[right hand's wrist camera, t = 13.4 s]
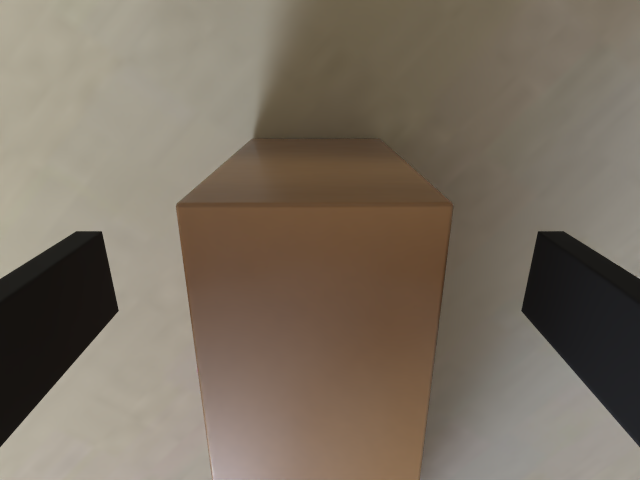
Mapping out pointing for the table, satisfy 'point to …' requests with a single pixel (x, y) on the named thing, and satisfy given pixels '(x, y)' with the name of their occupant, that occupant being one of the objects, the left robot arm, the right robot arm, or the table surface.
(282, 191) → the bar
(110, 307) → the right robot arm
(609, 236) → the table surface
